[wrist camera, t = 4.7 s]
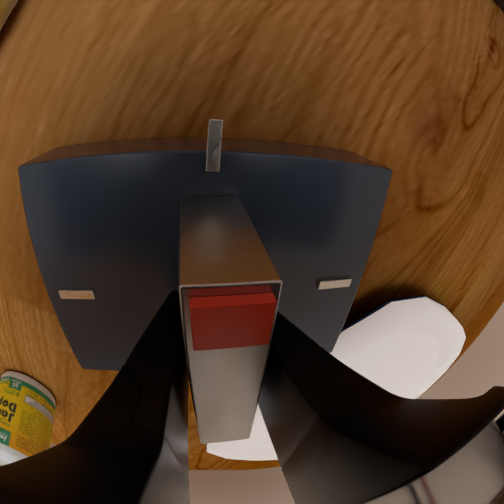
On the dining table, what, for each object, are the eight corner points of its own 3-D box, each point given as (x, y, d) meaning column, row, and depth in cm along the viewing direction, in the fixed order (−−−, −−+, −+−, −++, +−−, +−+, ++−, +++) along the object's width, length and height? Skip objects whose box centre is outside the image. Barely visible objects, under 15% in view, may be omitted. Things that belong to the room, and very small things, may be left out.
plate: (385, 245, 14) (403, 262, 12) (468, 333, 25) (475, 342, 24) (176, 443, 22) (178, 457, 20) (334, 445, 33) (337, 453, 32)
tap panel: (353, 132, 10) (401, 147, 8) (307, 324, 16) (328, 365, 13) (55, 126, 8) (12, 139, 5) (96, 335, 13) (87, 382, 10)
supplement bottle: (33, 407, 16) (22, 496, 8) (-8, 371, 13) (-32, 468, 5) (69, 404, 16) (61, 509, 8) (23, 364, 13) (-2, 483, 5)
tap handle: (229, 351, 11) (251, 445, 7) (190, 354, 10) (201, 450, 7) (238, 195, 8) (289, 290, 4) (180, 196, 7) (178, 297, 4)
